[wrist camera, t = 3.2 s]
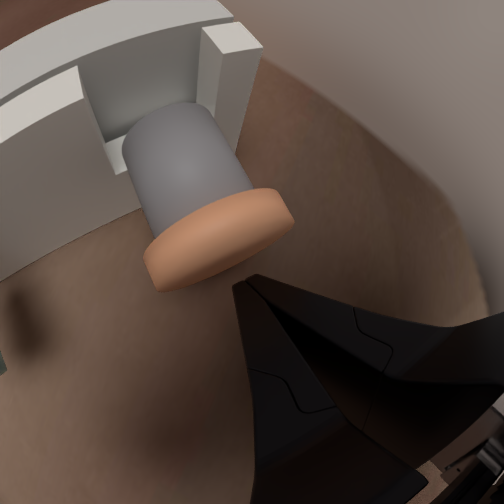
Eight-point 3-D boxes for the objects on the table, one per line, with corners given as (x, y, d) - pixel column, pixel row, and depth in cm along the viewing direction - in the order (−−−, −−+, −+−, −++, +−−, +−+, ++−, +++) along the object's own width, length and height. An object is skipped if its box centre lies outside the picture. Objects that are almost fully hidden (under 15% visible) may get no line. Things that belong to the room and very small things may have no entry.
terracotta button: (273, 247, 12) (317, 199, 8) (165, 298, 11) (143, 278, 6) (220, 151, 13) (234, 74, 8) (120, 190, 12) (90, 122, 7)
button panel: (230, 170, 18) (263, 47, 9) (-30, 300, 13) (-130, 271, 3) (188, 96, 19) (196, -19, 10) (-40, 213, 14) (-116, 155, 4)
